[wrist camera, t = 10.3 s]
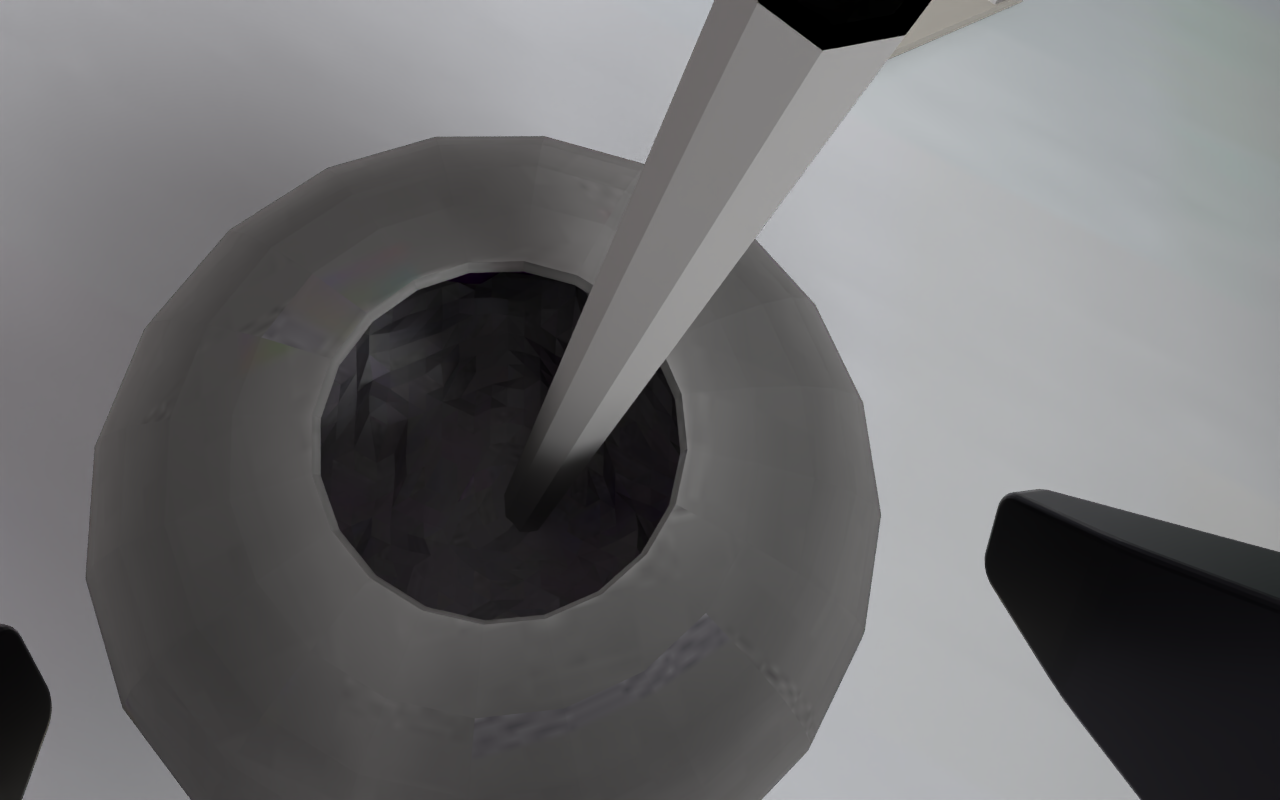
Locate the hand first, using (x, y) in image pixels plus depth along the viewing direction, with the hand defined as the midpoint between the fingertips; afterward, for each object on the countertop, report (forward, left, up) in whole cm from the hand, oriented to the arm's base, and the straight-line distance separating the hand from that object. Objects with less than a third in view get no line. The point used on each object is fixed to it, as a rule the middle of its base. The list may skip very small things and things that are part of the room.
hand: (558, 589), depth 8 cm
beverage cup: (+1, 0, -12) cm, 12 cm away
